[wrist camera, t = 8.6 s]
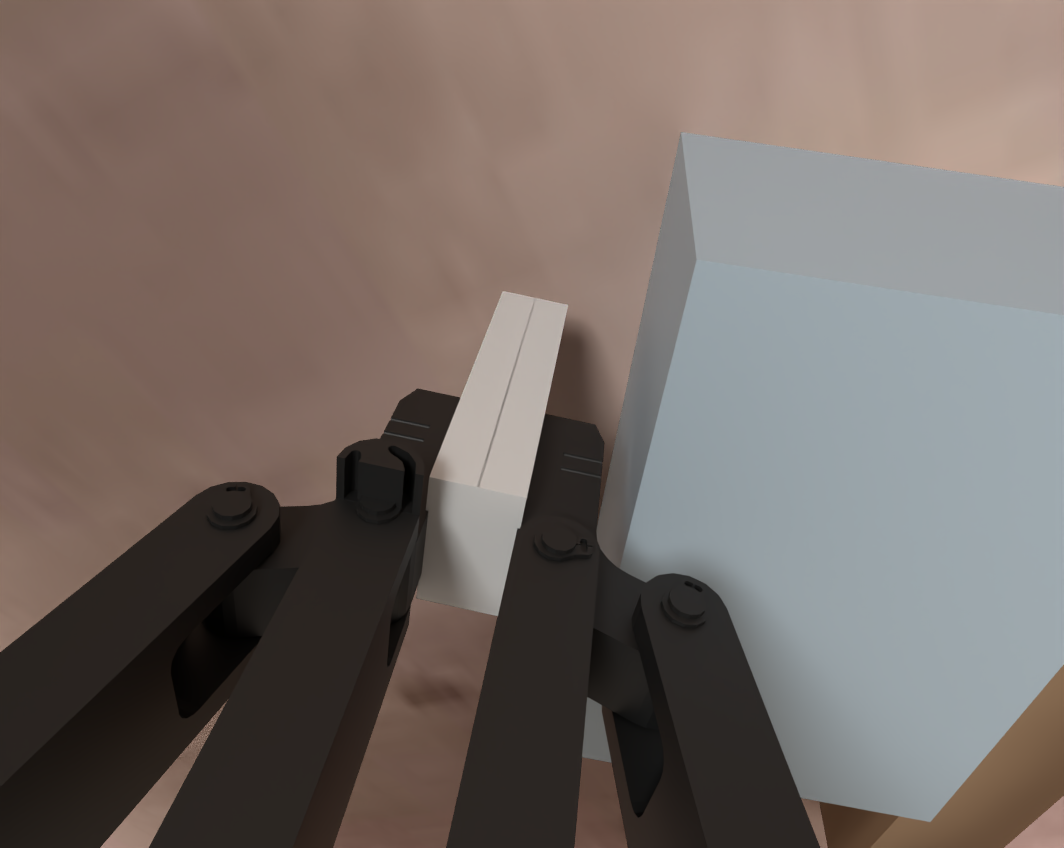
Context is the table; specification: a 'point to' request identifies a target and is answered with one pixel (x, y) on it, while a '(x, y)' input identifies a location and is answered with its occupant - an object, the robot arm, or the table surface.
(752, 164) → the block
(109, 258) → the table surface
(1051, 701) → the stop board
